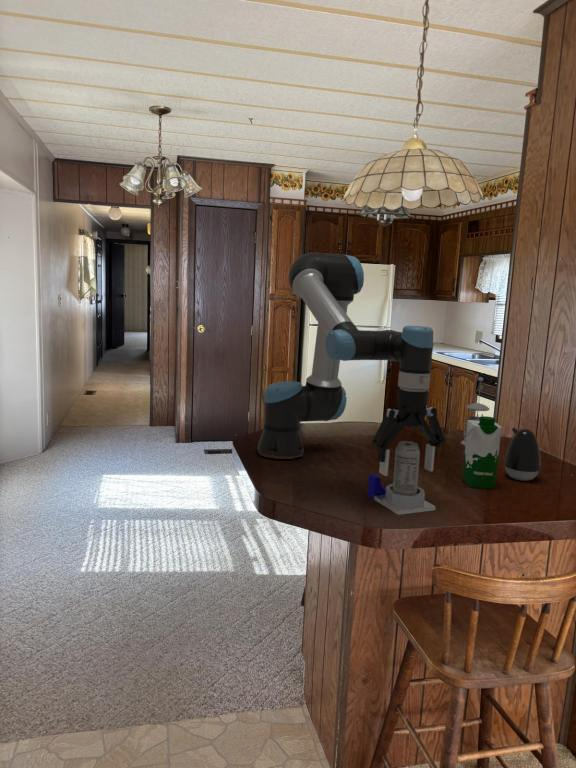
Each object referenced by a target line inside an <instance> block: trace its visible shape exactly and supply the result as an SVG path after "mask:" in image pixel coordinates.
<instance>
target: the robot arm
mask: <svg viewBox="0 0 576 768" xmlns="http://www.w3.org/2000/svg"><path fill="white" fill-rule="evenodd" d="M364 272H365V271H364V269H363V266H362V263H361V261H360V259H358V257H355V256H353V255H348V254H343V253H342V254H341V253H340V254H339V253H324V252H313V251H312V252H307V253H304V254H302V255H300V256H298V257H297V258H296V259H295V260H294V261H293V262H292V264H291V266H290V267H289V271H288V283H289V287H290V289H291V290H292V291H293V293H294V295H295V296H296V297H298V298H300V299H302V301H303V302H304V303H305V305H306V307H307V308H308V309H309V311H310V312H311V314H312V316H313V317H314V318H315V320H316V321H317V326H316V327H317V329H316V337H315V344H314V351H313V352H314V353H313V362H312V368H311V374H310V375H309V376H307V377H306V378H305V379H306V380H305V385H302V383H301V382H299V381H296V380H293V381H292V380H291V381H288V380H287V381H277V382H274V383H270V384H269V385H268V386H266V388H265V393H264V399H263V401H264V409H263V429H262V432H261V436H260V439H259V441H258V444H257V448H256V450H257V449H258V451H260V452H262V453H265V454H268V455H274V456H287V457H290V456H298V455H301V454H303V453H305V448H304V444H303V440H302V437H301V433H300V425H301V424H300V423H302V422H329V421H334V420H337V419H339V418H340V417H341V416H343V414H344V412H345V409H346V406H347V401H348V400H347V396H346V395H347V391H346V390H345V388H344V387H343V386H342V384H343V383H342V381H341V380H340V379H339V372H340V371H339V370H340V363H341V361H342V362H346V361H393V362H399V369H398V379H397V386H398V389H397V394H396V395H397V396H396V404H397V407H396V409H392V408H390V407H389V408H388V407H387V408H385V412H384V417H383V419H382V421H381V423H380V425H379V426H378V428H377V431H376V433H375V435H374V437H373V439H372V441H371V445H372V446H373V447H376V448H377V450H378V451H377V452H378V453H377V460H378V462H379V468H378V469H379V470H378V473H379V474H380V475H383V476H384V477H387V476H389V475H388V474H389V463H390V451H391V450H390V449H388V448H389V447H390V445H391V444H392V443H393V442H394V440H395V439H396V438H397V436H398V435H399V434H400V432H401V431H402V430H404V429H405V428H406V427H407V428H410V427H415V428H416V427H418V428H419V430H420V431H421V432H422V434H423V435H424V437H425V439H426V440H427V441H428V443H426V445H425V454H424V466H423V468H424V469H425V470H426V471H428V472H433V471H434V463H435V458H436V457H437V453H438V452H437V451H438V448H439V447H440V446H441V444H444V443H445V436H444V434H443V431H442V428H441V425H440V422H439V418H438V410H437V408H436V407H433V406H428V404H429V395H430V394H429V390H428V389H430V381H431V369H432V359H433V351H434V349H433V347H434V344H435V343H434V329H433V328H432V327H429V326H422V325H421V326H420V325H405V326H403V327H402V330H401V331H398V330H397V331H396V330H395V329H394V330H393V329H382V330H362V329H361V330H360V329H358V328H357V326H356V325H355V324H354V322H353V321H352V319H351V318H350V316H348V313H347V312H348V306H349V305H350V304H351V303H353V302H354V298H355V295H358V294H360V292H361V291H362V289H363V287H364V283H365V282H364V281H365V273H364ZM426 416H427V419H428V423H429V425H428V423H427V421H426V419H425V418H426ZM429 426H430V427H429Z"/></svg>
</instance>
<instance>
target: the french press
mask: <svg viewBox="0 0 576 768" xmlns="http://www.w3.org/2000/svg"><path fill="white" fill-rule="evenodd" d="M477 380H478V381H480V382H479V388H481V385H482V381H484V378H483V377H478V379H477ZM480 394H481V389H479V390H478V398H481V397H480V396H481V395H480ZM466 409H468V410H471V411H477V413H476V416H475V415H474V416H473V415H471V416H466V419H467V420H475V421H480V417H481V416H484V413H481V416H479V412H488V411H489V410H490V407H489V406H488V405H485V404H483V403H480V399H478V402H476V403H474V402H473V403H470V404H468V405H466ZM467 420H466V421H465V424H464V425H465V426H464V435H463V440H461V442H460V444H462V445H464V446H465V444H466V433H467Z"/></svg>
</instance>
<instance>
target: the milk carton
mask: <svg viewBox="0 0 576 768" xmlns="http://www.w3.org/2000/svg"><path fill="white" fill-rule="evenodd" d="M479 417H480V421H475V420H468V419H467V420H466V421H467V426H466V427H467V430H466V431H467V433H465V434H466V436H465V437H466V444H465V445H464V455H463V465H462V466H463V467H462V468H463V469H462V470H463V471H462V472H463V473H462V480H463V481H464V483H465V484H466V485H467V486H468V487H469V488H472V489H473V488H477V489H493V490H494V489H495V488H496V487H495V485H496V480H497V479H496V478H497V475H498V473H497V472H498V465H499V454H500V445H501V437H502V431H503V426H501V425H500V424H499V423H497V422H496V418H495V417H493V416H484V415H483V416H482V415H480V416H479Z"/></svg>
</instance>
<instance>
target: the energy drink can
mask: <svg viewBox="0 0 576 768" xmlns="http://www.w3.org/2000/svg"><path fill="white" fill-rule="evenodd" d="M420 456H421V450H420V448H419V443H417V442H415V441H411V440H409V441H408V440H402V441H399V442H398V445H397V446H396V448H395V453H394V465H393V466H394V467H393V468H394V469H393V478H392V479H393V480H392V483H393V491H394V492H396V493H399V494H405V495H415V494H417V486H418V483H419V473H420V472H419V469H420V458H421V457H420Z"/></svg>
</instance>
